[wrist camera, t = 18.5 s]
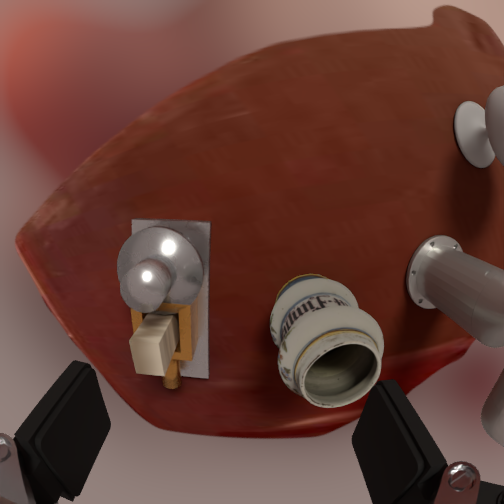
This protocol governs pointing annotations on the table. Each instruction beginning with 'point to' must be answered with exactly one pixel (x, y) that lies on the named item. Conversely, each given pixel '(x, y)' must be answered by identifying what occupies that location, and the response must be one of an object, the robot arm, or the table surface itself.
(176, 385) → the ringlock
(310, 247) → the table surface
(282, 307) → the apothecary jar
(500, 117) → the chalice
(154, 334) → the cream rectangular block
